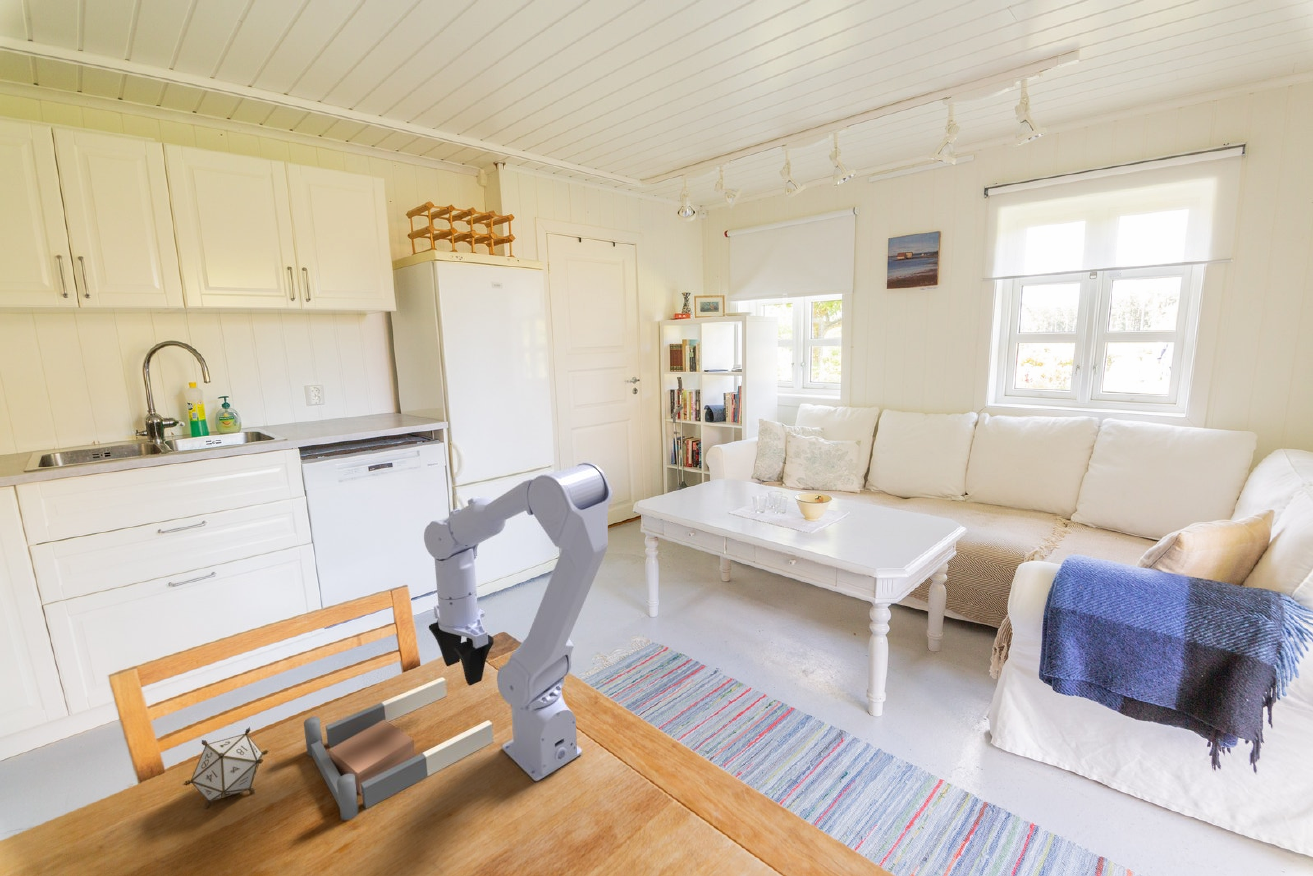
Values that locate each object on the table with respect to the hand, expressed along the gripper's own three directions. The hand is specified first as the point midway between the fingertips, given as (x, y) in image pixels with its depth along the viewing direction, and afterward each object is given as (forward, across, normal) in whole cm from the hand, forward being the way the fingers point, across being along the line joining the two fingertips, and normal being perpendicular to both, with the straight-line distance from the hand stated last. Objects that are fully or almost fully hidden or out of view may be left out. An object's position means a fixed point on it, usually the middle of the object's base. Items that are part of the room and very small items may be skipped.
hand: (463, 672), depth 91 cm
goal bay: (+8, 0, +15) cm, 17 cm away
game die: (+8, +7, +30) cm, 32 cm away
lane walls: (+8, 0, +5) cm, 9 cm away
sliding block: (+8, -1, +14) cm, 16 cm away
